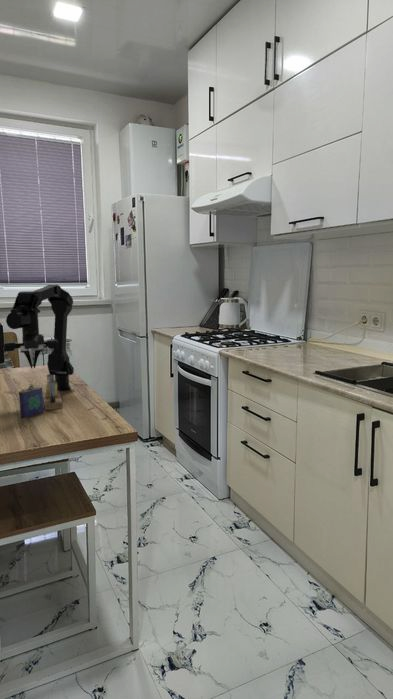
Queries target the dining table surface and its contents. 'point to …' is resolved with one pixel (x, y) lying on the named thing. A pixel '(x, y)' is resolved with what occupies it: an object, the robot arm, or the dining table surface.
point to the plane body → (52, 405)
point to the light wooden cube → (49, 389)
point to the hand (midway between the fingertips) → (33, 368)
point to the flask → (31, 402)
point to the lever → (51, 387)
